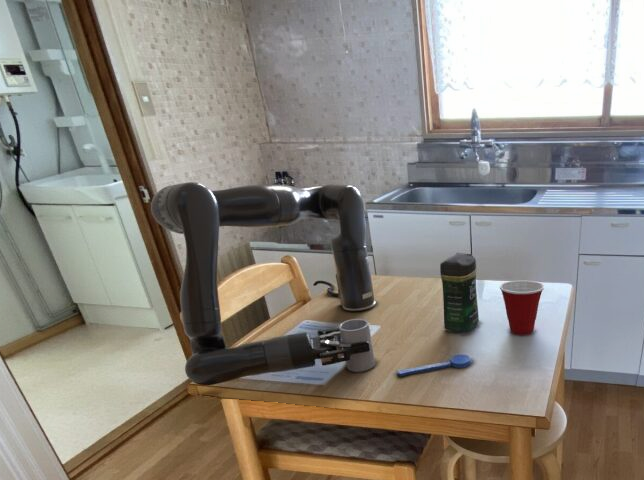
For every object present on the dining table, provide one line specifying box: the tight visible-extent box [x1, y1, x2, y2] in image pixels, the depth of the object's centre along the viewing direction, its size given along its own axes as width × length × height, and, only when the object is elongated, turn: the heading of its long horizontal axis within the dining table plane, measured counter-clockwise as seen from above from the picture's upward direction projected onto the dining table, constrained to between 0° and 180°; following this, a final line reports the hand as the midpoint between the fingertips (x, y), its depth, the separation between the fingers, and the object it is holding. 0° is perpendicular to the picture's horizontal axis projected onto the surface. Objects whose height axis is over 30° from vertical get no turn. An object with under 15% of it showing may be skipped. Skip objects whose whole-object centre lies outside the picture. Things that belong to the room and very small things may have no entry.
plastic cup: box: [499, 279, 545, 336], centre depth 127 cm, size 11×11×12 cm
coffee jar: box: [439, 252, 480, 334], centre depth 129 cm, size 10×8×19 cm
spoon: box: [396, 353, 472, 377], centre depth 115 cm, size 17×5×1 cm, turn 108°
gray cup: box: [338, 318, 376, 373], centre depth 115 cm, size 6×6×10 cm
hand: (367, 339), depth 115 cm, fingers closed on gray cup, 6 cm apart
